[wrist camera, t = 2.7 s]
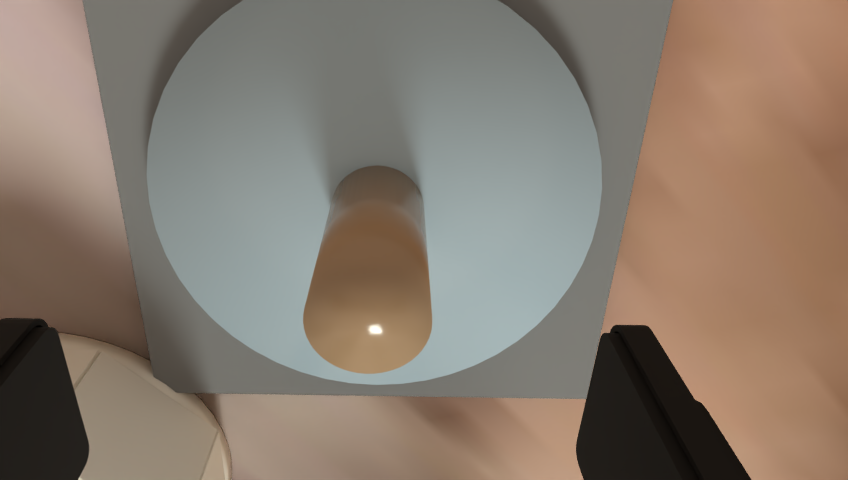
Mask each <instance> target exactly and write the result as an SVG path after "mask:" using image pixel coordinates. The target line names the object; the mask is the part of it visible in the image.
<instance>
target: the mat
mask: <svg viewBox="0 0 848 480" xmlns="http://www.w3.org/2000/svg"><path fill="white" fill-rule="evenodd" d="M241 1H242V0H83V5H84V11H85V16H86V21H87V27H88V32H89V37H90V42H91V48H92V53H93V58H94V64H95V69H96V74H97V80H98V85H99V90H100V96H101V101H102V106H103V112H104V117H105V122H106V127H107V133H108V138H109V143H110V149H111V154H112V159H113V165H114V170H115V175H116V181H117V186H118V191H119V197H120V202H121V207H122V212H123V218H124V223H125V228H126V234H127V239H128V244H129V250H130V255H131V260H132V266H133V271H134V276H135V282H136V287H137V292H138V297H139V303H140V308H141V313H142V319H143V324H144V329H145V335H146V340H147V345H148V351H149V356H150V361H151V367H152V372H153V377H154V378H156V379H158V380H159V381H161V382H162V383H164V384H166V385H167V386H168V387H170V388H171V389H172V390H173V391H175V392H176V393H223V394H290V395H357V396H423V397H490V398H557V399H586V398H587V393H588V389H589V384H590V379H591V375H592V370H593V366H594V361H595V356H596V352H597V347H598V343H599V338H600V333H601V329H602V324H603V320H604V315H605V311H606V306H607V301H608V297H609V292H610V288H611V283H612V278H613V274H614V269H615V265H616V260H617V255H618V251H619V246H620V242H621V237H622V232H623V228H624V223H625V219H626V214H627V210H628V205H629V200H630V196H631V191H632V187H633V182H634V177H635V173H636V168H637V164H638V159H639V154H640V150H641V145H642V141H643V136H644V132H645V127H646V122H647V118H648V113H649V109H650V104H651V99H652V95H653V90H654V86H655V81H656V76H657V72H658V67H659V63H660V58H661V53H662V49H663V44H664V40H665V35H666V31H667V26H668V21H669V17H670V12H671V8H672V3H673V0H499V1H501V2H502V3H504V4H505V5H507V6H508V7H509V8H510V9H512V10H513V11H514V12H515V13H517V14H518V15H519V16H520V17H522V18H523V19H524V20H525V21H526V22H528V23H529V24H530V25H531V26H533V27H534V28H535V29H536V30H537V31H538V32H539V33H540V34H541V35H542V37H543V38H544V39H545V40H546V41H547V42H548V43H549V44H550V45H551V46H552V47H553V48H554V50H555V51H556V52H557V53H558V54H559V56H560V57H561V59H562V60H563V62H564V63H565V65H566V66H567V68H568V69H569V71H570V72H571V73H572V75H573V76H574V78H575V80H576V82H577V84H578V86H579V88H580V90H581V92H582V94H583V96H584V98H585V100H586V102H587V104H588V107H589V110H590V113H591V116H592V120H593V123H594V126H595V129H596V132H597V137H598V143H599V149H600V155H601V164H602V193H601V202H600V210H599V217H598V221H597V224H596V228H595V232H594V236H593V240H592V243H591V245H590V247H589V250H588V252H587V255H586V257H585V260H584V262H583V264H582V266H581V268H580V270H579V272H578V273H577V275H576V277H575V279H574V280H573V282H572V284H571V285H570V287H569V288H568V290H567V291H566V292H565V294H564V295H563V296H562V298H561V299H560V300H559V302H558V303H557V304H556V306H555V307H554V308H553V309H552V310H551V311H550V312H549V313H548V314H547V315H546V316H545V317H544V318H543V320H542V321H541V322H540V323H539V324H538V325H537V326H535V327H534V328H533V329H532V330H531V331H529V332H528V333H527V334H526V335H524V336H523V337H522V338H521V339H519V340H518V341H517V342H515V343H514V344H512V345H511V346H509V347H508V348H506V349H504V350H503V351H501V352H500V353H498V354H497V355H495V356H493V357H491V358H489V359H487V360H485V361H483V362H481V363H479V364H476V365H474V366H472V367H469V368H466V369H464V370H461V371H458V372H455V373H453V374H450V375H446V376H442V377H438V378H434V379H430V380H426V381H418V382H411V383H404V384H386V385H370V384H355V383H347V382H341V381H335V380H329V379H324V378H320V377H317V376H313V375H310V374H306V373H302V372H299V371H297V370H294V369H292V368H289V367H287V366H284V365H282V364H279V363H277V362H275V361H273V360H271V359H269V358H267V357H265V356H263V355H261V354H259V353H258V352H256V351H254V350H252V349H251V348H249V347H248V346H246V345H245V344H243V343H242V342H240V341H239V340H237V339H236V338H234V337H233V336H232V335H231V334H229V333H228V332H227V331H226V330H225V329H223V328H222V327H221V326H220V325H219V324H218V323H216V322H215V321H214V320H213V319H212V318H211V317H210V316H209V315H208V314H207V313H206V312H205V311H204V310H203V309H202V307H201V306H200V305H199V304H198V303H197V302H196V301H195V300H194V299H193V297H192V296H191V294H190V293H189V292H188V290H187V289H186V288H185V286H184V285H183V284H182V282H181V281H180V279H179V278H178V276H177V274H176V273H175V271H174V269H173V267H172V265H171V263H170V262H169V260H168V258H167V256H166V254H165V252H164V249H163V247H162V244H161V242H160V239H159V236H158V234H157V231H156V228H155V224H154V220H153V216H152V212H151V208H150V204H149V195H148V185H147V153H148V143H149V138H150V133H151V128H152V123H153V118H154V115H155V112H156V109H157V107H158V104H159V101H160V98H161V96H162V93H163V90H164V88H165V86H166V85H167V83H168V81H169V79H170V77H171V75H172V74H173V72H174V70H175V68H176V66H177V64H178V63H179V61H180V60H181V59H182V58H183V56H184V55H185V54H186V52H187V51H188V50H189V48H190V47H191V46H192V44H193V43H194V42H195V41H196V39H197V38H198V37H199V36H200V35H201V34H202V33H203V32H204V31H205V30H206V29H207V28H208V27H210V26H211V25H212V24H213V23H214V22H215V21H216V20H217V19H218V18H219V17H220V16H221V15H223V14H224V13H225V12H227V11H228V10H230V9H231V8H232V7H234V6H235V5H237V4H238V3H240V2H241Z"/></svg>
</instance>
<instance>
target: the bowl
mask: <svg viewBox="0 0 848 480" xmlns="http://www.w3.org/2000/svg"><path fill="white" fill-rule="evenodd" d="M58 334H59V338H60V341H61V345H62V348H63V352H64V355H65V359H66V363H67V366H68V370H69V373H70V377H71V380H72V384H73V388H74V391H75V395H76V398H77V402H78V405H79V409H80V413H81V416H82V420H83V423H84V427H85V431H86V434H87V438H88V441H89V456H88V460H87V463H86V465H85V468H84V469H83V471H82V473H81V475H80V477H79V479H78V480H231V476H232V466H231V456H230V452H229V447H228V444H227V441H226V439H225V436H224V434H223V431H222V429H221V427H220V426H219V424H218V422H217V421H216V419H215V417H214V416H213V414H212V413H211V412H210V410H209V409H208V408H207V407H206V405H205V404H204V403H203V402H202V400H201V399H200V398H199V397H198V396H197V395H196V394H194V393H176V392H175V391H173V390H172V389H171V388H170V387H168V386H167V385H166V384H164V383H162V382H161V381H159V380H158V379H156V378H154V377H153V372H152V367H151V361H149V360H147V359H145V358H143V357H141V356H139V355H137V354H135V353H133V352H131V351H128V350H125V349H123V348H120V347H117V346H115V345H112V344H110V343H106V342H102V341H99V340H95V339H91V338H88V337H83V336H77V335H71V334H65V333H58Z"/></svg>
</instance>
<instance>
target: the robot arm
mask: <svg viewBox="0 0 848 480" xmlns="http://www.w3.org/2000/svg"><path fill="white" fill-rule="evenodd" d="M576 454H577V460H578V464H579V467H580V470H581V473H582V476H583V479H584V480H751V478H750V477H749V475H748V474H747V472H746V471H745V469H744V467H743V466H742V464H741V463H740V461H739V459H738V458H737V456H736V455H735V453H734V452H733V450H732V448H731V447H730V445H729V444H728V442H727V441H726V439H725V437H724V436H723V434H722V433H721V431H720V430H719V428H718V426H717V425H716V423H715V422H714V420H713V419H712V417H711V415H710V414H709V412H708V411H707V409H706V408H705V407H704V406H703V405H702V403H700V402H698V401H696V400H695V399H694V398H693V396H692V394H691V393H690V391H689V390H688V388H687V386H686V385H685V383H684V382H683V380H682V378H681V377H680V375H679V374H678V372H677V370H676V369H675V367H674V366H673V364H672V362H671V361H670V359H669V358H668V356H667V354H666V353H665V351H664V350H663V348H662V346H661V345H660V343H659V342H658V340H657V338H656V337H655V335H654V334H653V332H652V330H651V329H650V328H649V327H648V326H646V325H615V326H613V327H612V329H611V331H610V333H604V334H602V336H601V338H600V342H599V346H598V351H597V355H596V359H595V364H594V368H593V373H592V377H591V381H590V386H589V390H588V394H587V399H586V403H585V408H584V412H583V416H582V421H581V425H580V430H579V434H578V438H577V444H576ZM88 456H89V441H88V438H87V434H86V431H85V427H84V423H83V420H82V416H81V413H80V409H79V405H78V402H77V398H76V395H75V391H74V388H73V384H72V380H71V377H70V373H69V370H68V366H67V363H66V359H65V355H64V352H63V348H62V345H61V341H60V338H59V334H58V332H57V330H56V329H55V328H52V327H48V325H47V323H46V322H45V321H44V320H42V319H28V318H5V319H1V320H0V480H78V479H79V477H80V475H81V473H82V471H83V469H84V468H85V465H86V463H87V460H88Z"/></svg>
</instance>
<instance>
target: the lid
mask: <svg viewBox="0 0 848 480" xmlns="http://www.w3.org/2000/svg"><path fill="white" fill-rule="evenodd" d="M147 185H148V195H149V204H150V208H151V212H152V216H153V220H154V224H155V228H156V231H157V234H158V236H159V239H160V242H161V244H162V247H163V249H164V252H165V254H166V256H167V258H168V260H169V262H170V263H171V265H172V267H173V269H174V271H175V273H176V274H177V276H178V278H179V279H180V281H181V282H182V284H183V285H184V286H185V288H186V289H187V290H188V292H189V293H190V294H191V296H192V297H193V299H194V300H195V301H196V302H197V303H198V304H199V305H200V306H201V307H202V309H203V310H204V311H205V312H206V313H207V314H208V315H209V316H210V317H211V318H212V319H213V320H214V321H215V322H216V323H218V324H219V325H220V326H221V327H222V328H223V329H225V330H226V331H227V332H228V333H229V334H231V335H232V336H233V337H234V338H236V339H237V340H239V341H240V342H242V343H243V344H245V345H246V346H248V347H249V348H251V349H252V350H254V351H256V352H258V353H259V354H261V355H263V356H265V357H267V358H269V359H271V360H273V361H275V362H277V363H279V364H282V365H284V366H287V367H289V368H292V369H294V370H297V371H299V372H302V373H306V374H310V375H313V376H317V377H320V378H324V379H329V380H335V381H341V382H347V383H355V384H370V385H386V384H404V383H411V382H418V381H426V380H430V379H434V378H438V377H442V376H446V375H450V374H453V373H455V372H458V371H461V370H464V369H466V368H469V367H472V366H474V365H476V364H479V363H481V362H483V361H485V360H487V359H489V358H491V357H493V356H495V355H497V354H498V353H500V352H501V351H503V350H504V349H506V348H508V347H509V346H511V345H512V344H514V343H515V342H517V341H518V340H519V339H521V338H522V337H523V336H524V335H526V334H527V333H528V332H529V331H531V330H532V329H533V328H534V327H535V326H537V325H538V324H539V323H540V322H541V321H542V320H543V318H544V317H545V316H546V315H547V314H548V313H549V312H550V311H551V310H552V309H553V308H554V307H555V306H556V304H557V303H558V302H559V300H560V299H561V298H562V296H563V295H564V294H565V292H566V291H567V290H568V288H569V287H570V285H571V284H572V282H573V280H574V279H575V277H576V275H577V273H578V272H579V270H580V268H581V266H582V264H583V262H584V260H585V257H586V255H587V252H588V250H589V247H590V245H591V243H592V240H593V236H594V232H595V228H596V224H597V221H598V217H599V210H600V202H601V193H602V164H601V155H600V149H599V143H598V137H597V132H596V129H595V126H594V123H593V120H592V116H591V113H590V110H589V107H588V104H587V102H586V100H585V98H584V96H583V94H582V92H581V90H580V88H579V86H578V84H577V82H576V80H575V78H574V76H573V75H572V73H571V72H570V71H569V69H568V68H567V66H566V65H565V63H564V62H563V60H562V59H561V57H560V56H559V54H558V53H557V52H556V51H555V50H554V48H553V47H552V46H551V45H550V44H549V43H548V42H547V41H546V40H545V39H544V38H543V37H542V35H541V34H540V33H539V32H538V31H537V30H536V29H535V28H534V27H533V26H531V25H530V24H529V23H528V22H526V21H525V20H524V19H523V18H522V17H520V16H519V15H518V14H517V13H515V12H514V11H513V10H512V9H510V8H509V7H508V6H507V5H505V4H504V3H502V2H501V1H499V0H242V1H241V2H240V3H238V4H237V5H235V6H234V7H232V8H231V9H230V10H228V11H227V12H225V13H224V14H223V15H221V16H220V17H219V18H218V19H217V20H216V21H215V22H214V23H213V24H212V25H211V26H210V27H208V28H207V29H206V30H205V31H204V32H203V33H202V34H201V35H200V36H199V37H198V38H197V39H196V41H195V42H194V43H193V44H192V46H191V47H190V48H189V50H188V51H187V52H186V54H185V55H184V56H183V58H182V59H181V60H180V61H179V63H178V64H177V66H176V68H175V70H174V72H173V74H172V75H171V77H170V79H169V81H168V83H167V85H166V86H165V88H164V90H163V93H162V96H161V98H160V101H159V104H158V107H157V109H156V112H155V115H154V118H153V123H152V128H151V133H150V138H149V143H148V153H147Z"/></svg>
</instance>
